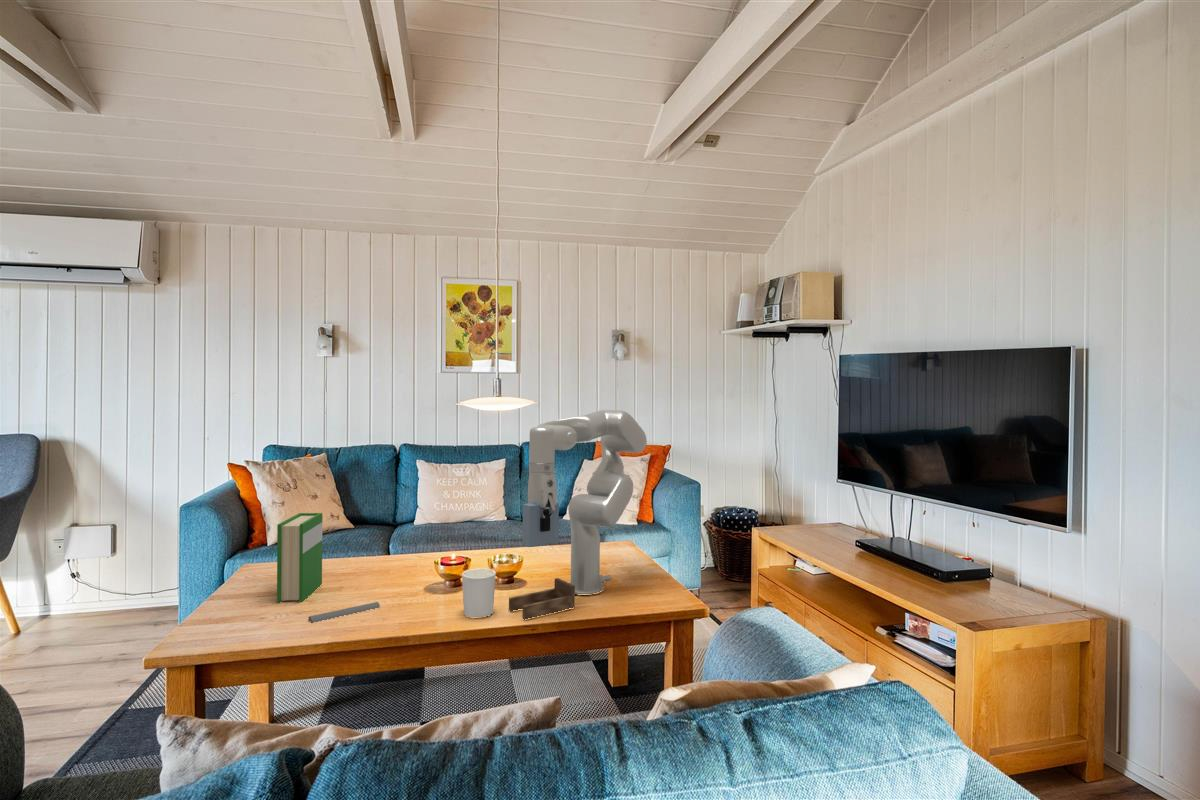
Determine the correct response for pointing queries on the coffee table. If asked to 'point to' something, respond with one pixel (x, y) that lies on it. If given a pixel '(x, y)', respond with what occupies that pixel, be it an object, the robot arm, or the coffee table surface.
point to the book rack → (545, 600)
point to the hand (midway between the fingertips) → (540, 529)
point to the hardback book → (299, 556)
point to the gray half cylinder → (343, 612)
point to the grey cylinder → (478, 592)
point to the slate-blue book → (538, 526)
